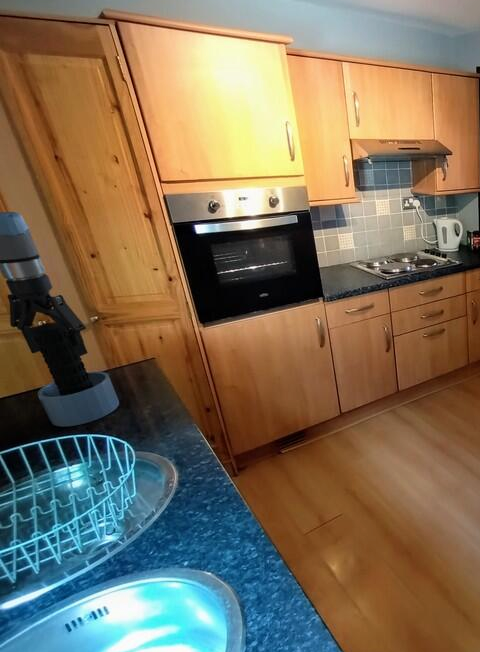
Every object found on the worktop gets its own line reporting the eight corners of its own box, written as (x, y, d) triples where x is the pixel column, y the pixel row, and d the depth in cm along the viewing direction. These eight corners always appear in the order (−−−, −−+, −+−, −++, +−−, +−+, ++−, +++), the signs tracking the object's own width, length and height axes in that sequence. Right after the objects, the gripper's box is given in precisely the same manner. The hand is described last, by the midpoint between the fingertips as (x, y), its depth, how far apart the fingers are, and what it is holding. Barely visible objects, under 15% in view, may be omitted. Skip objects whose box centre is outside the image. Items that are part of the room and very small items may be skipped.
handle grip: (113, 407, 129) (101, 396, 134) (78, 321, 118) (67, 313, 124) (67, 423, 121) (57, 411, 127) (25, 333, 111) (15, 324, 116)
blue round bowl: (36, 423, 123) (22, 395, 119) (90, 396, 136) (79, 369, 132) (82, 429, 120) (68, 400, 117) (132, 400, 134) (121, 373, 130)
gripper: (84, 275, 114) (113, 350, 122) (2, 269, 117) (36, 343, 126) (52, 283, 107) (85, 363, 115) (-34, 277, 110) (4, 355, 119)
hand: (59, 353), depth 121 cm, fingers open, 13 cm apart
